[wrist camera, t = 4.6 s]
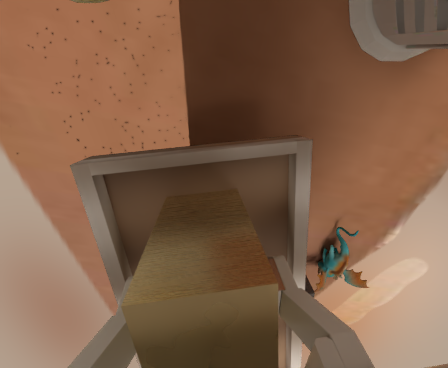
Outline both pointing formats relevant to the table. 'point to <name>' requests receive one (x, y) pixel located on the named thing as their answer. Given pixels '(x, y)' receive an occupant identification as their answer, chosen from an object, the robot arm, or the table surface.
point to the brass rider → (204, 288)
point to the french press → (399, 27)
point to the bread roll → (88, 1)
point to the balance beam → (201, 183)
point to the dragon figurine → (338, 265)
